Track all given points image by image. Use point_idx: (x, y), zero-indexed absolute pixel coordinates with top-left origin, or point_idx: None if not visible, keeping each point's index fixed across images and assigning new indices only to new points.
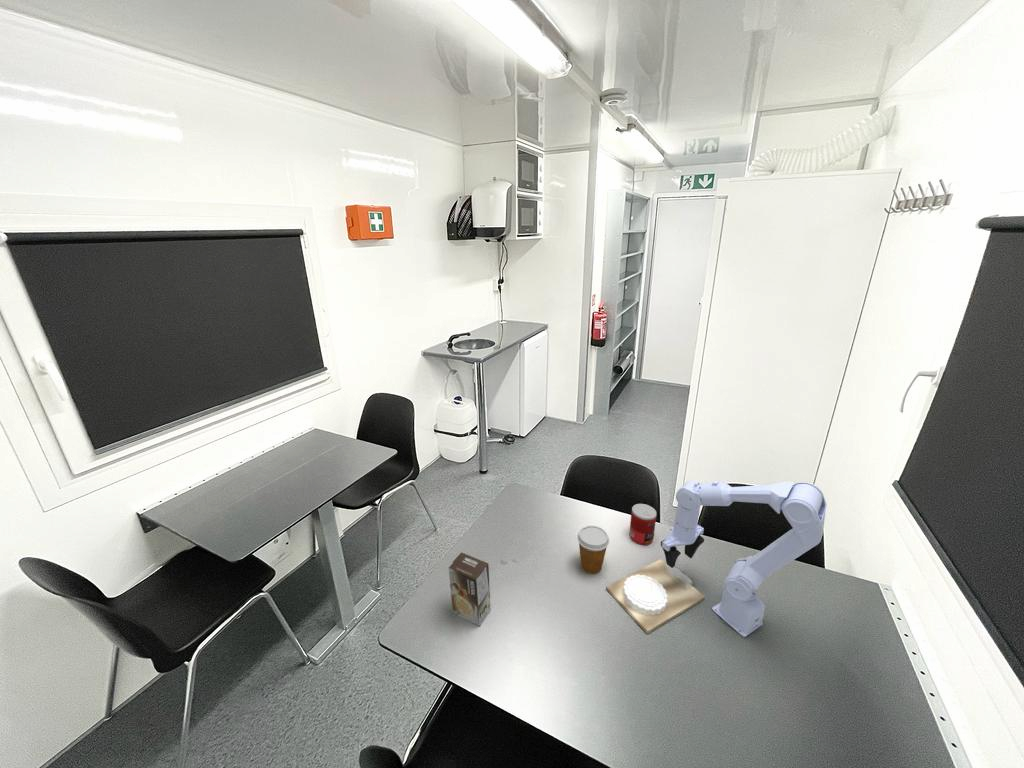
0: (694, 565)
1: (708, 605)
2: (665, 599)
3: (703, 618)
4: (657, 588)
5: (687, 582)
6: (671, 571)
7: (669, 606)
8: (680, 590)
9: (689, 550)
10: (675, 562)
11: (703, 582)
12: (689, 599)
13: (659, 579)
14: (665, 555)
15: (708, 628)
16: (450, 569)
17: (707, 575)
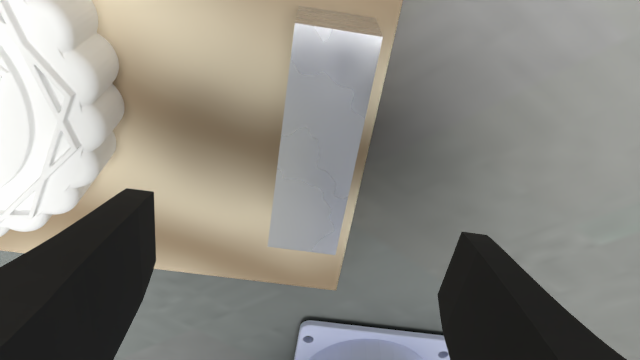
0: (591, 105)
1: (317, 298)
2: (27, 219)
3: (219, 316)
4: (19, 144)
5: (291, 243)
6: (287, 111)
7: (76, 212)
8: (250, 189)
9: (476, 342)
10: (114, 348)
11: (464, 215)
12: (237, 253)
13: (194, 39)
14: (30, 258)
15: (191, 347)
16: None
17: (547, 203)
